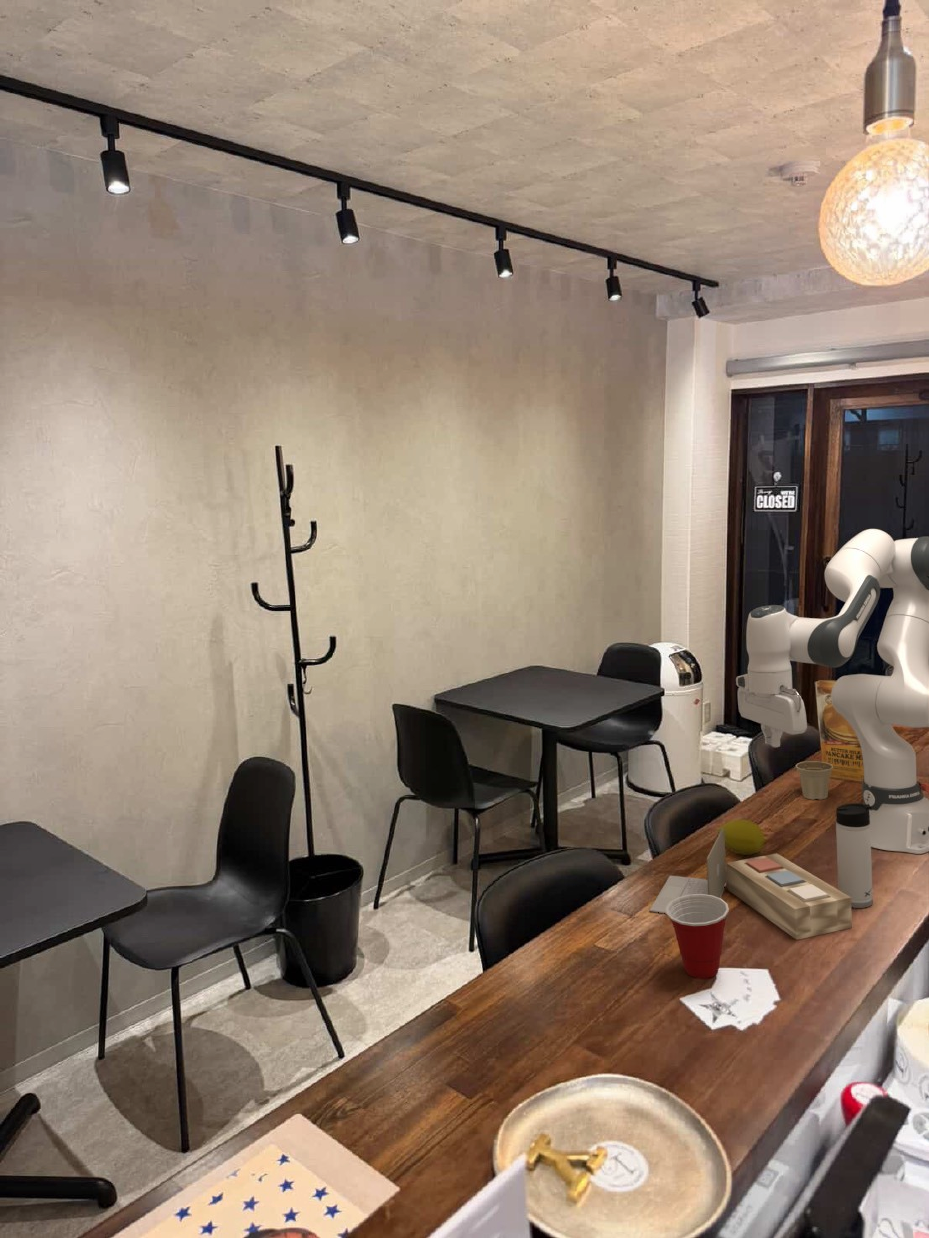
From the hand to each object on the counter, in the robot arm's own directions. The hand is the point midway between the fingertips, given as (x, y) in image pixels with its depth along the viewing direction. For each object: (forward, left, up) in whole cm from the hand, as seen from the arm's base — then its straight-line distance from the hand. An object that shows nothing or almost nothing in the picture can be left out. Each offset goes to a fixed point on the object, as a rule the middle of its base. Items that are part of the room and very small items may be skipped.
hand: (772, 745), depth 189 cm
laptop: (+22, +2, -30) cm, 37 cm away
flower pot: (-38, -40, -29) cm, 63 cm away
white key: (+7, +21, -26) cm, 34 cm away
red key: (+8, +6, -26) cm, 28 cm away
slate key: (+7, +14, -26) cm, 30 cm away
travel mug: (-6, +17, -29) cm, 35 cm away
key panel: (+7, +14, -29) cm, 33 cm away
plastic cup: (+35, +29, -29) cm, 54 cm away
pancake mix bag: (-56, -49, -29) cm, 80 cm away
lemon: (0, -14, -29) cm, 33 cm away
